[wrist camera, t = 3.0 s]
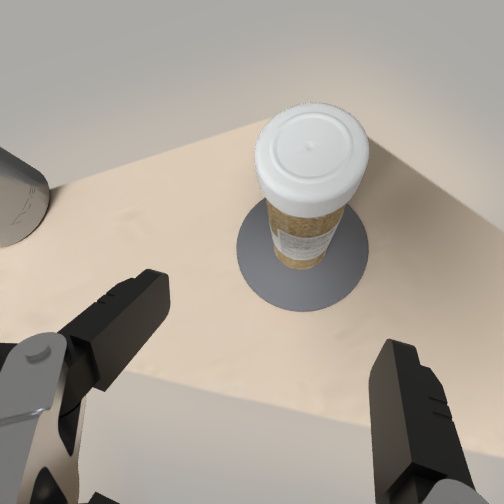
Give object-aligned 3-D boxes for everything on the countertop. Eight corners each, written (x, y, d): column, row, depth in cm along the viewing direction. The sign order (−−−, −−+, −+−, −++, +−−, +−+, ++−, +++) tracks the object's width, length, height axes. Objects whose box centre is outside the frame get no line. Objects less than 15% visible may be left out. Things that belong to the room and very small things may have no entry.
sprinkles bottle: (280, 215, 25) (269, 90, 12) (332, 226, 24) (382, 104, 11) (267, 264, 24) (239, 186, 11) (321, 277, 23) (361, 209, 10)
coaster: (220, 291, 24) (220, 290, 24) (256, 178, 26) (256, 177, 26) (353, 328, 21) (353, 328, 21) (378, 201, 24) (379, 200, 24)
